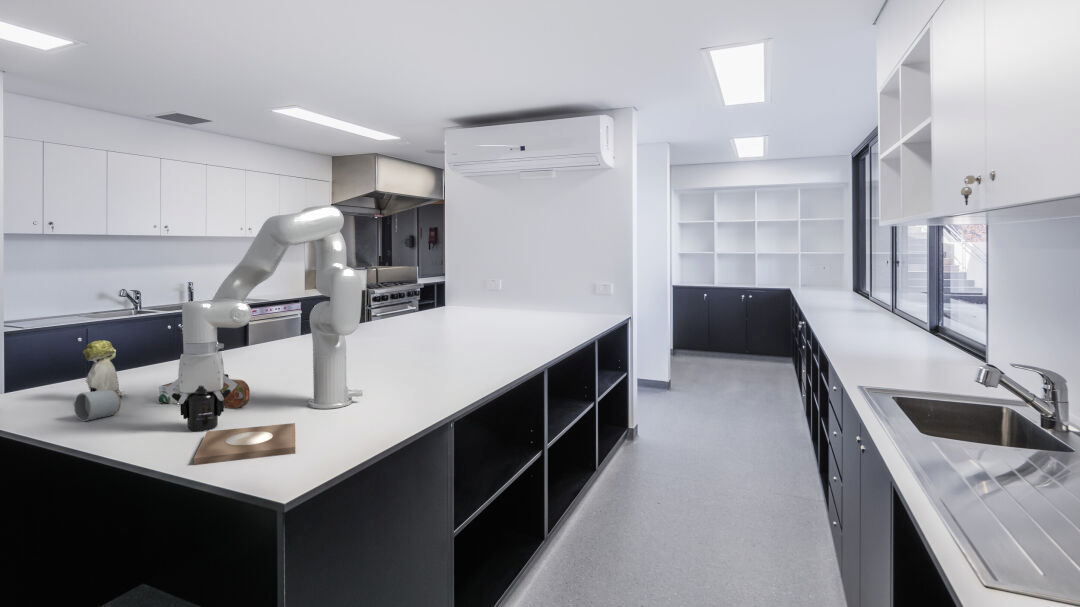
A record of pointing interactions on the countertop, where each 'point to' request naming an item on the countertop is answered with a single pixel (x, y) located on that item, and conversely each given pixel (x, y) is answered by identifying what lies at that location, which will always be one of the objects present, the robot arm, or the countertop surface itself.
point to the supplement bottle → (202, 410)
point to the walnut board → (246, 443)
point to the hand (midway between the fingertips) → (202, 415)
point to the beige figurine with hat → (102, 367)
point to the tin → (237, 394)
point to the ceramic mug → (96, 404)
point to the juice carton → (165, 396)
